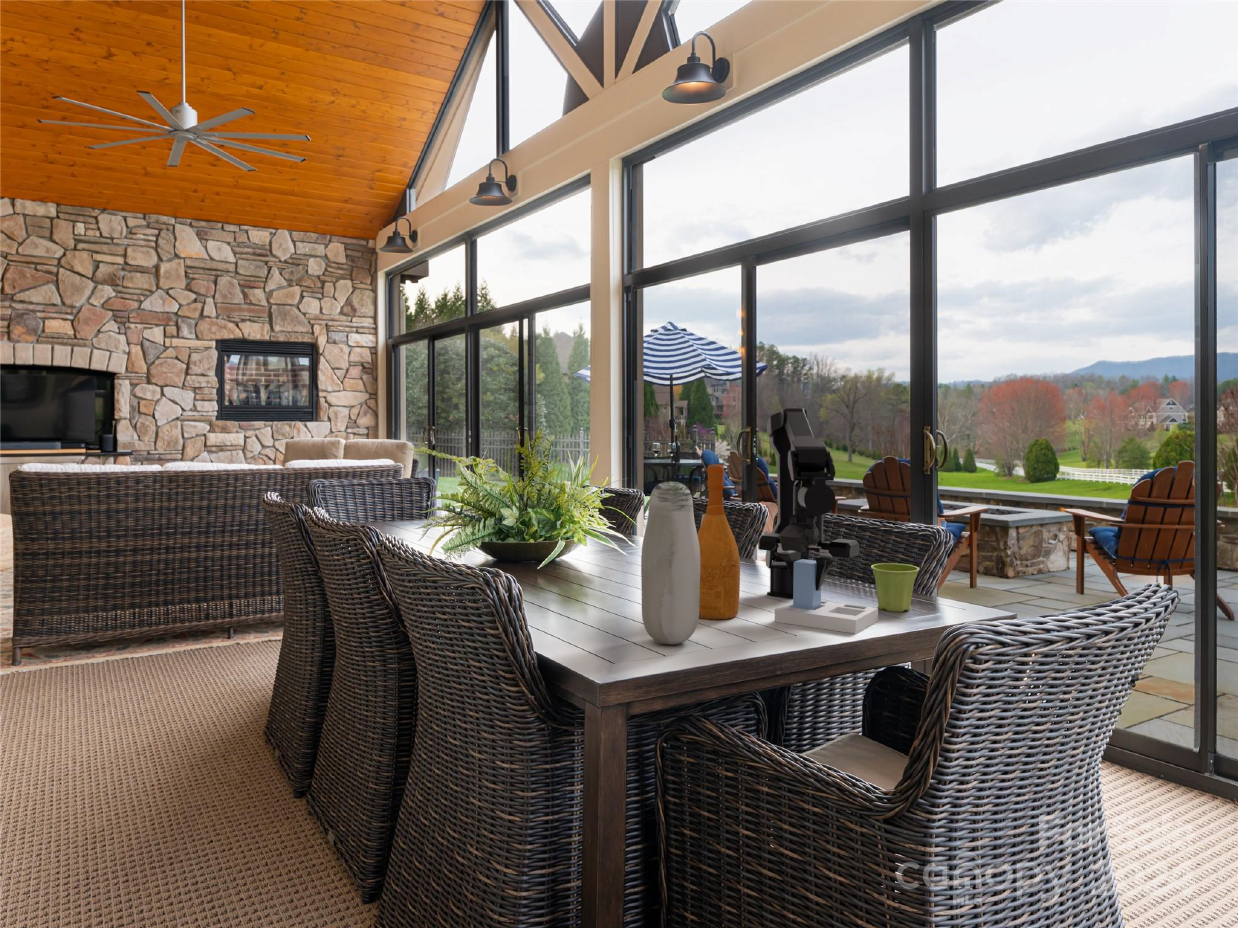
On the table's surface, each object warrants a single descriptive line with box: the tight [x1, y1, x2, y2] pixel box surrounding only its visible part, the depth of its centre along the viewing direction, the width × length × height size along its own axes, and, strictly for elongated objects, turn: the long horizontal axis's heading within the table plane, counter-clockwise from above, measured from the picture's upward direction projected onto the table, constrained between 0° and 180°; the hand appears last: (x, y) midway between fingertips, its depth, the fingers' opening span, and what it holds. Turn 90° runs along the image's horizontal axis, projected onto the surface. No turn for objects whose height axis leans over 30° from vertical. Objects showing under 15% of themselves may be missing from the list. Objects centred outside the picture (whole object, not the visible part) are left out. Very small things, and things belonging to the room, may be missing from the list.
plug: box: [792, 559, 822, 610], centre depth 168 cm, size 4×5×9 cm
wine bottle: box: [697, 463, 741, 620], centre depth 170 cm, size 10×10×30 cm
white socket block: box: [774, 600, 879, 634], centre depth 166 cm, size 16×12×3 cm
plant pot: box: [870, 562, 920, 613], centre depth 177 cm, size 9×9×9 cm
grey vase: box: [640, 481, 700, 646], centre depth 149 cm, size 10×10×28 cm
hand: (807, 589), depth 168 cm, fingers closed on plug, 4 cm apart
